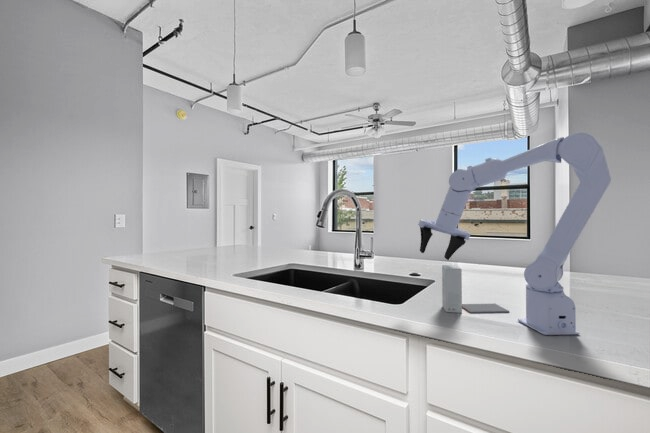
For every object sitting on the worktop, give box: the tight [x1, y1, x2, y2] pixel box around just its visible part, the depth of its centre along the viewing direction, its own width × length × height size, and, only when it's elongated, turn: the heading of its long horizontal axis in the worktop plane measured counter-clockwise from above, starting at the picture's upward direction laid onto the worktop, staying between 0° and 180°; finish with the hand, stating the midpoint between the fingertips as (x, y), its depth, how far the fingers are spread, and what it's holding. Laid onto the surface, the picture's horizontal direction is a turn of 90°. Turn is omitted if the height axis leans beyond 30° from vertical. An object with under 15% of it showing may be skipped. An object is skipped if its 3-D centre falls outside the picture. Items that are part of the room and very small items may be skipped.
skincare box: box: [441, 264, 463, 314], centre depth 87 cm, size 6×4×12 cm
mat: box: [462, 303, 510, 314], centre depth 87 cm, size 7×10×1 cm, turn 90°
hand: (434, 255), depth 91 cm, fingers open, 7 cm apart
